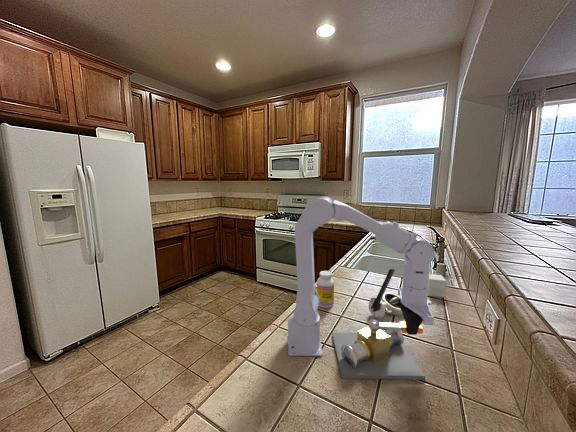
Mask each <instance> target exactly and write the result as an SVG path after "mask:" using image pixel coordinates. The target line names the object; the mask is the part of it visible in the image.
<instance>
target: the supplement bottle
mask: <svg viewBox="0 0 576 432" xmlns="http://www.w3.org/2000/svg"><path fill="white" fill-rule="evenodd" d="M332 277H333V273H332V272H331V271H329V270H321V271H320V272H319V277H318V278H317V280H316V291H317V294H318V296H319V298H320V304H319V306H318V307H321V308H326V309H327V308H328V309H329V308H331V307H333V306H334V304H335V281H334V279H333V278H332Z"/></svg>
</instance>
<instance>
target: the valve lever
mask: <svg viewBox="0 0 576 432" xmlns="http://www.w3.org/2000/svg"><path fill="white" fill-rule="evenodd" d="M367 327H369V329H370V330H372V331H378V330H379V329H380V330H383V331H385V330H399V331H401V332H402V334H403V333H404V334H408V333H407V330H406V324H405V321H399V322H398V323H395V322H381V321H379V320H377V319H373V318H372V319H369V320H368V326H367ZM423 331H424V327H423V326H422V324H421V325H420V327H419V329H418V332H417V334H418V335H420V334H421V335H422V334H424V333H423Z"/></svg>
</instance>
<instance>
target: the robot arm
mask: <svg viewBox="0 0 576 432" xmlns="http://www.w3.org/2000/svg"><path fill="white" fill-rule="evenodd" d="M333 218H334V221H333V222H334V223H336V222H337V223H338V222H344V221H346V222H348V223H351V224H352V225H354V226H357V227H359V228H361V229H363V230H365V231H367V232H369V233H371V234H374V238H375V240H376V241H377V242H378V243H379V244H382V245H384V246H385V247H388V248H389V249H391V250H393V251H395V252H397V253H398V254H402V255H404V262H403V273H402V286H401V287H398V288H397V295H399V296H400V300H401V303H402V304H403V305H400V309H401V311H402V313H403V314H402V316H403V320H404V322H405V324H406V330H407V333H406V334H408V336H409V335H411V336H413V335H415V336H416V335H417V332H418V329H419V327H420V325H421V326H422V324H424V326H426V325H427V326H434V324H435V317H434V315H433V314H432V311H431V309H430V306H432V304H433V303H432V301H431V300H430V299H428V296H429V295H428V285H429V274H431V273H430V272H431V271H430V270H431V269H430V268H431V262H432V261H433V260H434V259H435V258H436V255H437V254H436V253H435V249H434V247H433V245H431V243H429V242H428V240H426V239H424V238H423V237H421V236H420V235H419V234H417V233H416V232H414V231H412V232H410V231H408V230H407V229H405V228H403V227H400V223H398V222H396V221H393V222H391V221H384V222H379V221H377V220H376V219H374V218H372V217H371V216H369V215H366V214H364V213H363V212H361V211H360V210H358V209H356V208H354V207H352V206H350V205H348V204H346V203H344V202H342V201H340V200H337V199H332V198H331V197H329V196H324V195H323V196H320V197H318V198H316V199H315V200H313V201H312V202H310V203H309V204H307V206H306V207H305V208H304V210H303V212H302V214H301V215H300V217H299V219H298V220H297V222H296V223H295V225H294V240H295V241H294V243H295V259H296V260H295V262H296V277H297V278H296V279H297V292H296V297H295V307H294V309H293V312H292V313H293V314H292V315H293V316H289V317H288V318H287V319H288V320H287V338H286V339H287V344H288V345H287V347H288V349H287V350H288V353H287V355H288V356H291V357H293V356H295V357H301V356H302V357H323V350H322V347H323V346H322V342H321V341H322V340H321V331H320V330H321V316H320V314H319V312H318V309H319V307H320V306H319V304H320V298H319V296H318V294H317V285H316V280H315V279H316V277H315V275H316V274H315V257H314V256H315V253H314V232H315V231H316V230H317V229H318V228H319V227H321V226H323V225H326V224H327V223H330V221H331V220H332V219H333Z"/></svg>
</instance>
